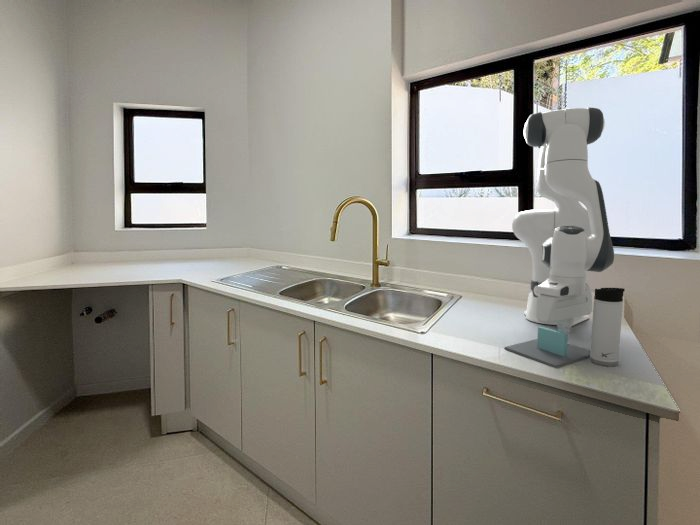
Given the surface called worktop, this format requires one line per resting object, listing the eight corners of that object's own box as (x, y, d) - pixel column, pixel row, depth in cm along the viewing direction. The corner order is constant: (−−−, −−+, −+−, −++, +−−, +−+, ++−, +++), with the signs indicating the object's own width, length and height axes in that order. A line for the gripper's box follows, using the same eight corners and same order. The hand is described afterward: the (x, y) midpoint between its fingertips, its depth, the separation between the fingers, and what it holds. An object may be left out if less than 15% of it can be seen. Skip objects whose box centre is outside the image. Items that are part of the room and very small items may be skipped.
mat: (545, 338, 126) (545, 336, 126) (597, 354, 112) (598, 352, 112) (504, 349, 118) (504, 347, 118) (555, 367, 104) (556, 365, 104)
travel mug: (608, 368, 103) (614, 290, 100) (584, 359, 109) (589, 285, 106) (624, 364, 105) (631, 287, 102) (600, 356, 111) (605, 283, 108)
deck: (540, 346, 117) (541, 326, 117) (566, 355, 110) (568, 333, 110) (537, 347, 117) (538, 327, 116) (563, 356, 110) (564, 334, 109)
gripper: (578, 280, 121) (575, 325, 123) (532, 287, 111) (530, 336, 113) (600, 283, 116) (596, 331, 117) (554, 291, 106) (551, 343, 108)
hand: (563, 334), depth 115 cm, fingers closed
